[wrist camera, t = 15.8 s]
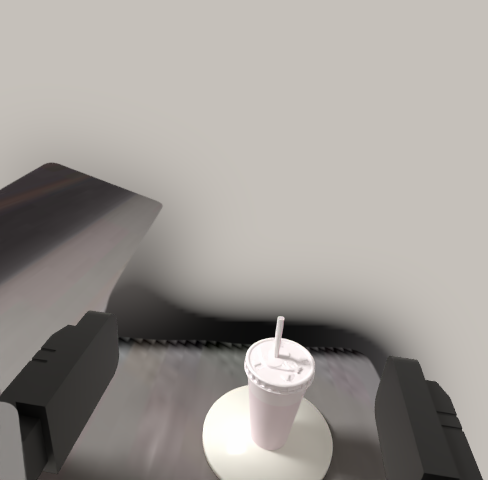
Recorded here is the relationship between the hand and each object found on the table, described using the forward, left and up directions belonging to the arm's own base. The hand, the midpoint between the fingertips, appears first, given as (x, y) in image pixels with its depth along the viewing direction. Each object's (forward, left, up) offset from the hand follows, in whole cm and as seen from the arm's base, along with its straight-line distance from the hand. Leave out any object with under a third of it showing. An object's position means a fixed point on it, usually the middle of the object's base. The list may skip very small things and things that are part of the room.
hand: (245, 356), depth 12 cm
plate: (-2, +20, -28) cm, 35 cm away
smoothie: (-1, +20, -27) cm, 34 cm away
